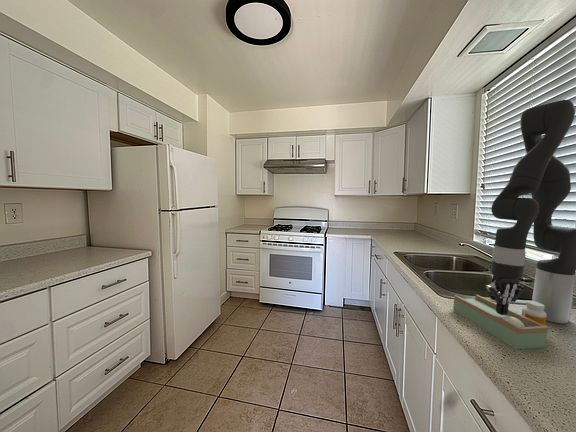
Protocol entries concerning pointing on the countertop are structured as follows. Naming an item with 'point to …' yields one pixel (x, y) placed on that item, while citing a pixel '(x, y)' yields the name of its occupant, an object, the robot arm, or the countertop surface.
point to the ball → (513, 321)
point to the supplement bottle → (534, 312)
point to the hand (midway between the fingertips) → (501, 313)
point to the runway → (501, 323)
